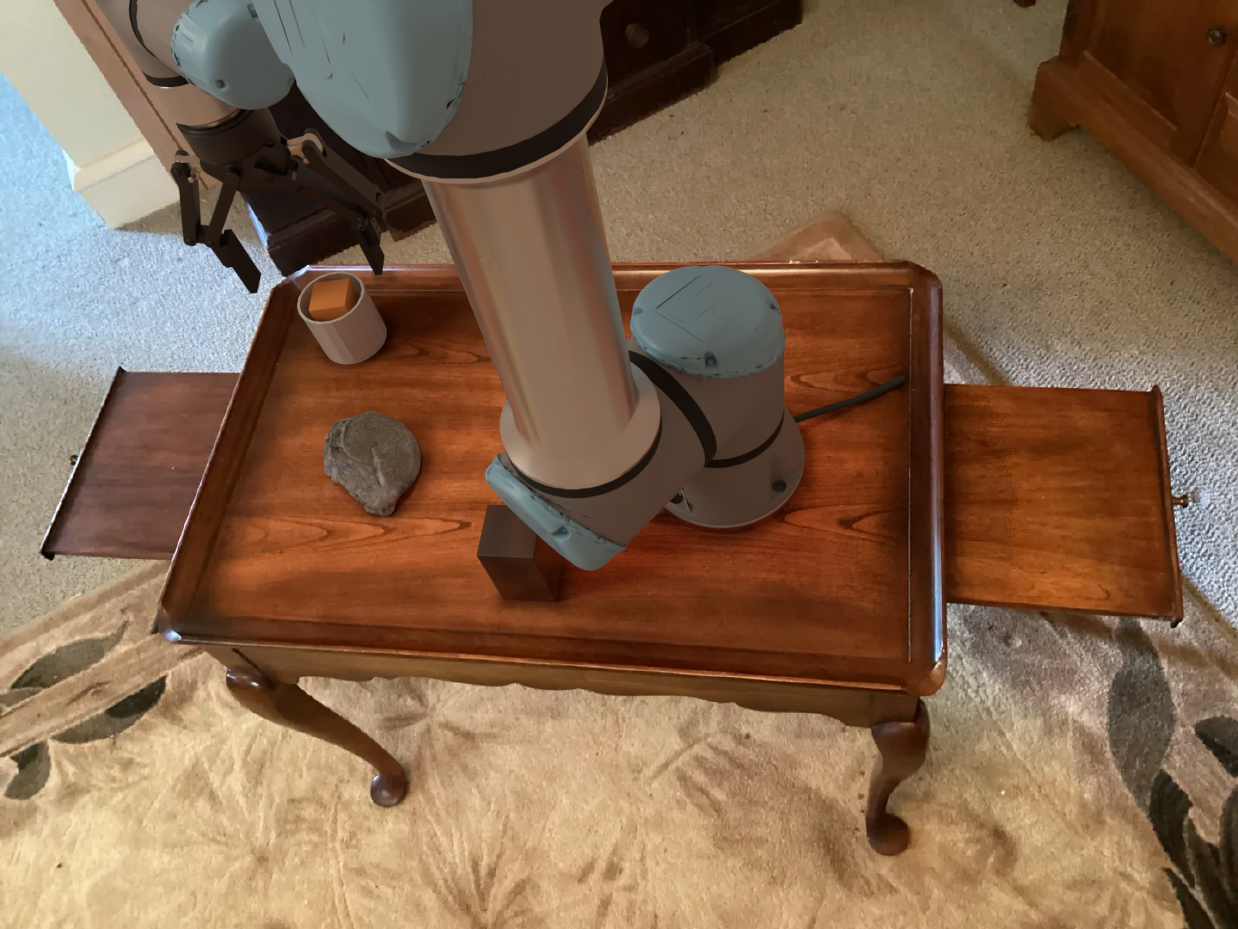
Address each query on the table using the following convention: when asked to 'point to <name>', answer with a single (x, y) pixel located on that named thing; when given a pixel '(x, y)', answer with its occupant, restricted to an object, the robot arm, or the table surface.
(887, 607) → the table surface
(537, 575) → the dark brown block
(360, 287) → the plain cylindrical cup
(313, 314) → the orange block
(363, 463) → the fossilized seashell
